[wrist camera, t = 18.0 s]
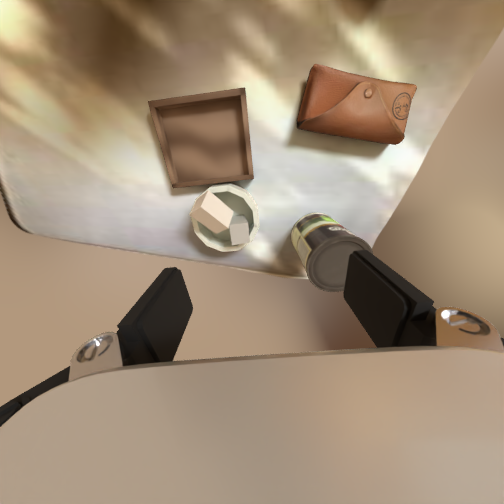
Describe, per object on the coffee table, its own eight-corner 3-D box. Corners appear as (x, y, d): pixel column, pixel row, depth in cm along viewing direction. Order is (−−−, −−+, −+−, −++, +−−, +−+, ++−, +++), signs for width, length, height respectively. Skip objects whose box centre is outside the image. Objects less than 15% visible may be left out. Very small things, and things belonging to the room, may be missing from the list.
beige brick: (221, 218, 36) (197, 198, 33) (233, 211, 34) (208, 189, 30) (216, 233, 34) (189, 214, 31) (228, 228, 32) (200, 206, 28)
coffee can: (307, 203, 38) (335, 224, 25) (345, 225, 40) (388, 254, 27) (281, 243, 42) (294, 277, 29) (317, 261, 44) (343, 300, 31)
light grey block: (227, 216, 38) (229, 225, 32) (243, 214, 38) (248, 222, 33) (229, 234, 39) (232, 245, 34) (245, 232, 40) (250, 242, 35)
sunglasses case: (422, 81, 28) (438, 104, 25) (387, 128, 34) (396, 151, 31) (309, 61, 27) (313, 83, 24) (295, 113, 33) (296, 136, 30)
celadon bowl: (191, 187, 36) (183, 190, 32) (254, 179, 36) (255, 182, 32) (205, 245, 42) (200, 254, 38) (260, 239, 42) (261, 248, 37)
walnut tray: (154, 105, 31) (147, 101, 29) (245, 92, 30) (244, 87, 28) (177, 186, 36) (172, 188, 34) (253, 177, 36) (253, 178, 34)
